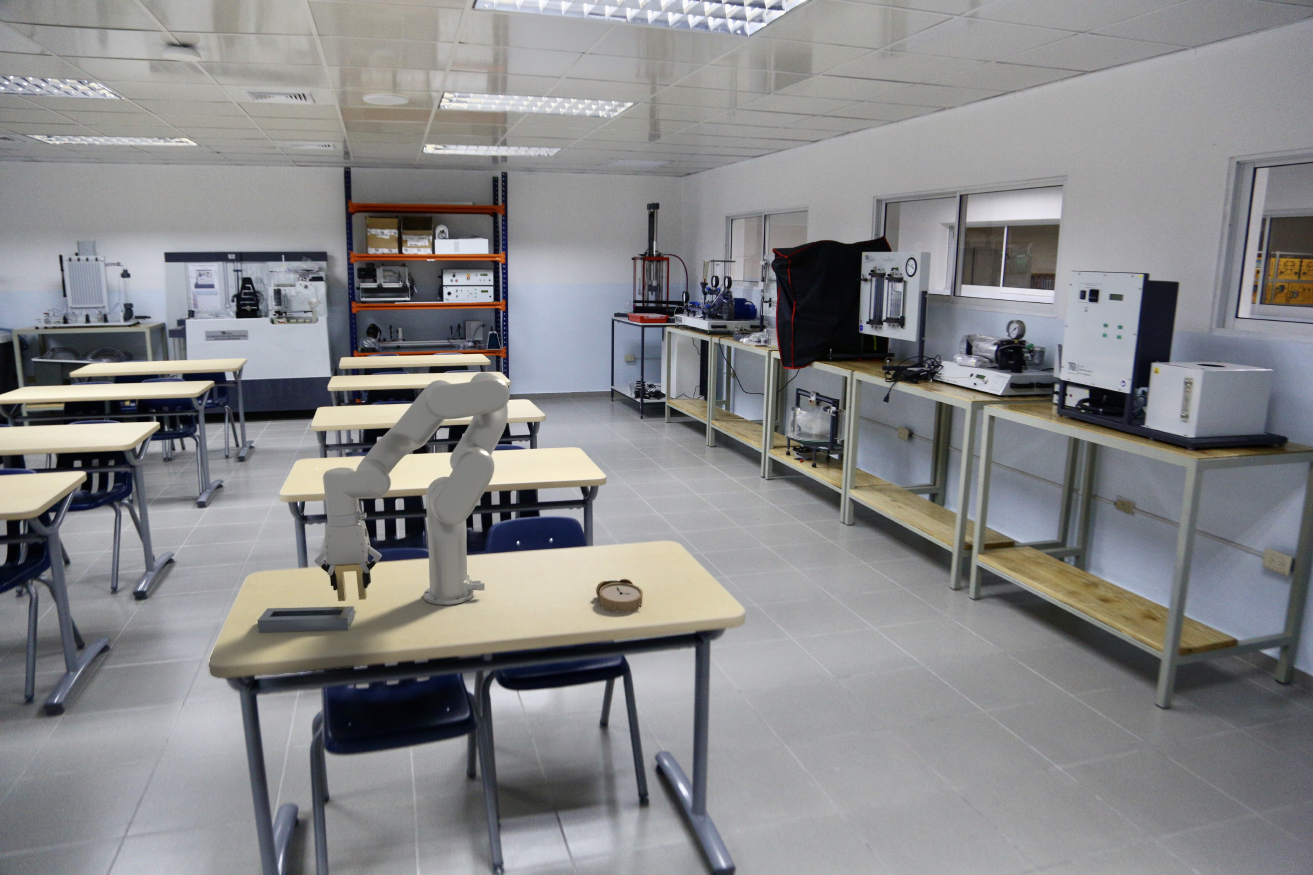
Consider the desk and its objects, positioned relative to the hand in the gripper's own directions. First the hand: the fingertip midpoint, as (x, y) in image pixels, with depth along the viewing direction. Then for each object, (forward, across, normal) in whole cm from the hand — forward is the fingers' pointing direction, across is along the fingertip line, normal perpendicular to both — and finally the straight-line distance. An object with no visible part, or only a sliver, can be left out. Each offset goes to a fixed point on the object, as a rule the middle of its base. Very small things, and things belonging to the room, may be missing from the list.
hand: (351, 586), depth 210 cm
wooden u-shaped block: (+3, 0, 0) cm, 3 cm away
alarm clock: (+9, -66, -1) cm, 67 cm away
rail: (+5, +8, +9) cm, 14 cm away
